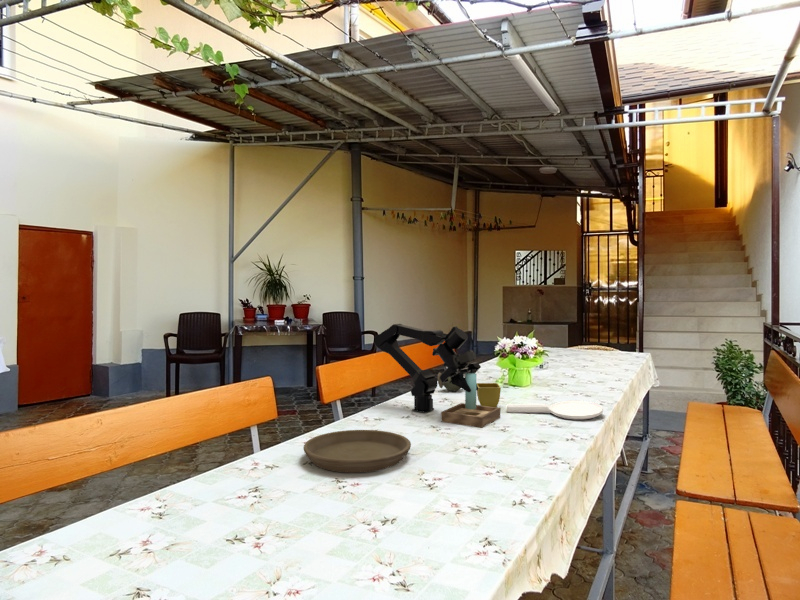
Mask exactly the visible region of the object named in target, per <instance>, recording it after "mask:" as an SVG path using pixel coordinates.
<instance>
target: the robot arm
mask: <svg viewBox="0 0 800 600" xmlns="http://www.w3.org/2000/svg"><path fill="white" fill-rule="evenodd" d="M400 336H402V337H407V338H411V339H414V340H419V341H421V343H422V344H425V345H427V346H429V347H433V350H432V353H431V355H432V356H434V357H435V356H439V357H440V360H442V361H443V364H442V366H443V367H444V368H445V370H444V371H443V372H441V375H440V380H441V381H442V383H446V382H448V378H449V377H451V381H450V383H452V384H454V385H456V386H458V387H460V388H461V389H462V390H463V391H465V390H466V391H467V392H471V389H470V387H469V385H468V384H467V382H466V380H465V374H466V373H475V374H477V372H478V371H479V370H480V368H482V366H481V364H480V363H479V362H477V361H476V362H471V361H475V360H476V357H477V353H475V352H474V350H473V349H469V350H468V351H466V352H465V353H462V354H460V353H456V351H455V350H459V349H460V348H461V347H462V345H464V343H465V342H466V341H468V338H469V337H468V334H467V333H466V332H465V331H464V330H463V329H460V328H459V327H458V326H453V327H452V328H451V329H450V330H449V332H448V333H444V331H443V330H441V329H422V328H419V327H414V326H408V325H404V324H402V323H393V324H392V325H390V327H388V328H387V329H385V330H384V331H382V332H381V333H378V334H376V336H375V338H374V346H375V347H376V348H378V349H379V350H380V351H381V352H383V353H386V354H388V355H390V357H392V359H394V361H395V362H397V364H398V365H399V366H400V367H401V368H402V369H403V370H404V371H405V372H406V373H407V374H408V375H409V376H410V378H412V379H411V380H412V383H413V387H412V388H411V389H410V394H411V396H413V397H414V399H413V400H414V403H413V404H414V405H413V406H414V408H413V409H412V410H411V411H413V412H419V413H426V414H427V413H428V412H430V411H433V410H435V408H434V399H433V394H435V391H436V389H437V388H438V378H436V374H434V373H433V372H432V371H431V370H430V369H429V368H427V369H424V370H423V369H422V368H420V367H419V365H418V364H417V363H415V362H414V360H412V359H411V358H410V356H408V354H407V353H406V352H405V351H403V349H402V348H401V347H400V346H399V343H398V339H399V338H400ZM434 346H437V347H434ZM470 362H471V363H470ZM446 367H447V368H446ZM477 383H478V382H476V391H477V390H478V386H477Z"/></svg>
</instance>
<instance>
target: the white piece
mask: <svg viewBox="0 0 800 600" xmlns="http://www.w3.org/2000/svg"><path fill="white" fill-rule="evenodd" d="M603 412H604V407H603V406H602V405H601V404H598V403H596V402H592V401H587V400H586V401H585V400H564V401H563V400H562V401H559V402H554V403H552V404H551V405H548V404H547V403H507V404H506V413H512V414H513V413H514V414H517V413H519V414H521V413H524V414H527V413H533V414H534V413H538V414H539V413H551V414H553V415H554V416H556V417H558V418H562V419H565V420H566V419H567V420H588V419H589V420H590V419H593V418H597V417H598V416H600V415H602V414H603Z"/></svg>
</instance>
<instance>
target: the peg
mask: <svg viewBox="0 0 800 600" xmlns="http://www.w3.org/2000/svg"><path fill="white" fill-rule="evenodd" d="M464 378H465V380H466V382H467V384H468V385H469V387H470V389H471V392H467V391H466V390H464V393H465V395H464V397H465V398H464V399H465V402H464V404H465V408H466V409H476V405H477V390H476V383H477V373H466V374H465V377H464Z"/></svg>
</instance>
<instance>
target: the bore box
mask: <svg viewBox="0 0 800 600" xmlns="http://www.w3.org/2000/svg"><path fill="white" fill-rule="evenodd" d="M440 414H441V416H440V418H441V419H440V421H441V423H442V422H443V423H450V424H456V425H460V426H461V425H462V426H469V427H475V428H476V427H477V428H484V427H486V426H488V425H489V424H491V423H493V422H495V421H497V420H499V419H500V418H501V407H488V406H481V405H478V404H476V409H466V408H465V402H464V403H463V402H460V403H459V404H456V405H454V406H452V407H449V408H447V409H444V410H443V411H440Z"/></svg>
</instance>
